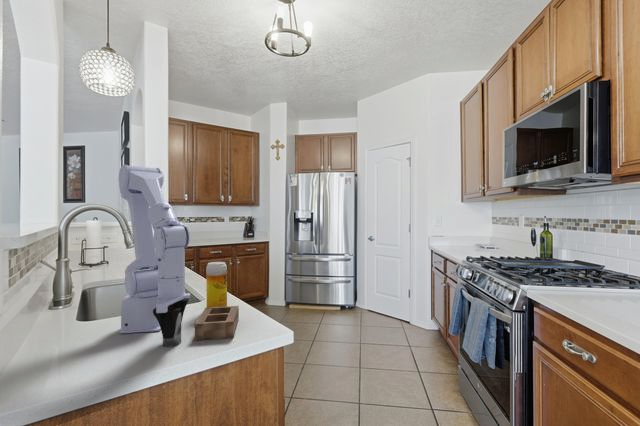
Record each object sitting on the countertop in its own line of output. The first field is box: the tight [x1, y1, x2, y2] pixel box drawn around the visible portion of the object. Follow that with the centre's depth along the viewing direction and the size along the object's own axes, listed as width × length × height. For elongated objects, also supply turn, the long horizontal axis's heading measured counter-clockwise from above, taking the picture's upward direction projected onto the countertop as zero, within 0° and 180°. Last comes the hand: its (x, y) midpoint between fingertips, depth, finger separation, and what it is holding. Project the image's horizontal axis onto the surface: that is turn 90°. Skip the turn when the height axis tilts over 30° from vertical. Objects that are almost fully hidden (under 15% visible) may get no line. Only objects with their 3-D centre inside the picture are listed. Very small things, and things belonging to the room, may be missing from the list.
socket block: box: [194, 305, 240, 342], centre depth 81 cm, size 9×13×4 cm
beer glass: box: [205, 261, 228, 307], centre depth 96 cm, size 6×6×15 cm
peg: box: [162, 312, 182, 348], centre depth 72 cm, size 4×4×7 cm
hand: (172, 333), depth 72 cm, fingers open, 4 cm apart
